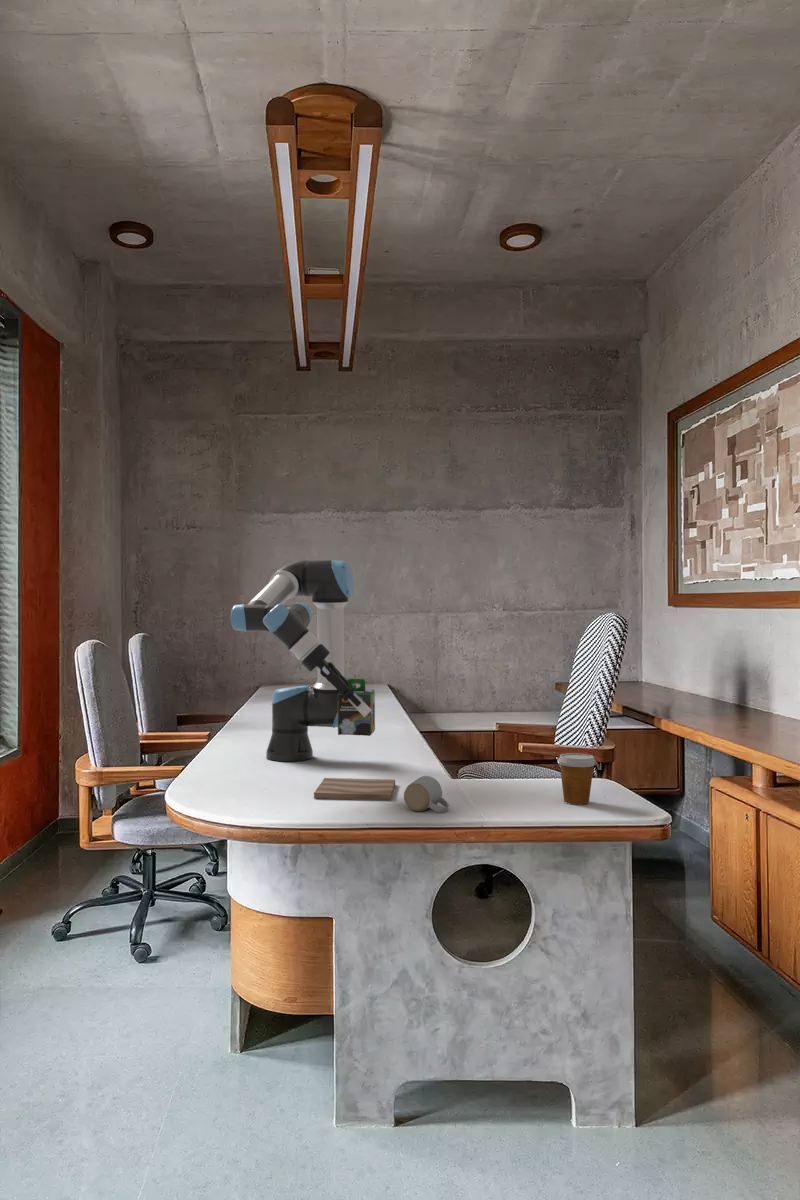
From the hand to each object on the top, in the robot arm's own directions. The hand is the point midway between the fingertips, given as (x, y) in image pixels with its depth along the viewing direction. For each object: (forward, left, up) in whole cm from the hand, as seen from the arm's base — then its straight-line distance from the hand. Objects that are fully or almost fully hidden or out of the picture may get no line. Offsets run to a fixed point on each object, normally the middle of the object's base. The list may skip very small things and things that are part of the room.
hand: (368, 711), depth 241 cm
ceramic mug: (+19, +17, -22) cm, 34 cm away
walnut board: (0, -3, -22) cm, 22 cm away
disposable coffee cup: (+7, +55, -22) cm, 60 cm away
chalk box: (0, -3, -6) cm, 7 cm away
